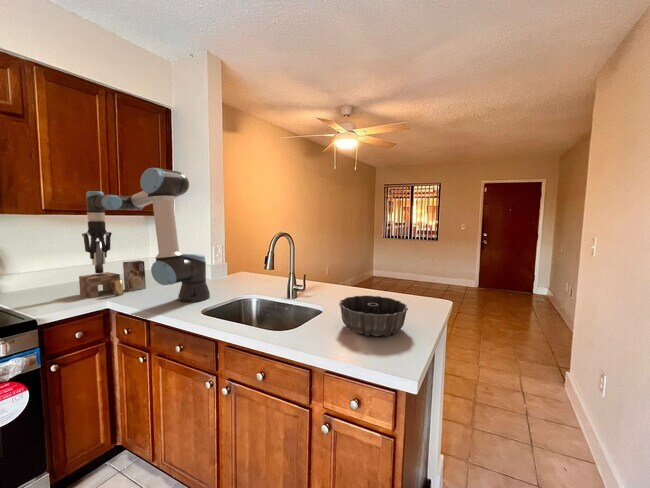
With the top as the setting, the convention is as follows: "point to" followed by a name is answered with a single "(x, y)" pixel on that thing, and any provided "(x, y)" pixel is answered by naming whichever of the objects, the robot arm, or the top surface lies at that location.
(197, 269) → the robot arm
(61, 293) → the top surface
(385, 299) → the bundt pan
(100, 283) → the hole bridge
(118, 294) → the short brass pin
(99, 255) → the tall steel pin
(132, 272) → the coffee box
